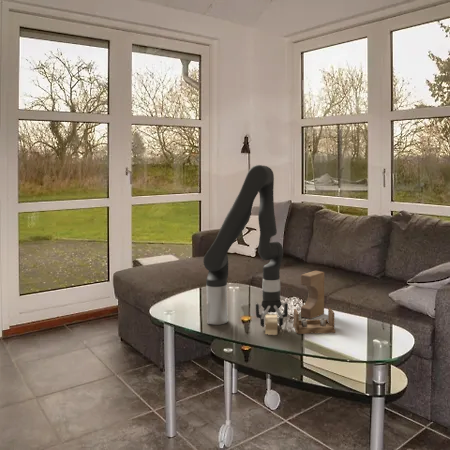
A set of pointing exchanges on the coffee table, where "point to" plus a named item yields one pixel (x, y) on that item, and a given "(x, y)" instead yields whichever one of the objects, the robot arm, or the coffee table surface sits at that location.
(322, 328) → the peg frame
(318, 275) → the decorative block
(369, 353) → the coffee table surface
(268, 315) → the plank
